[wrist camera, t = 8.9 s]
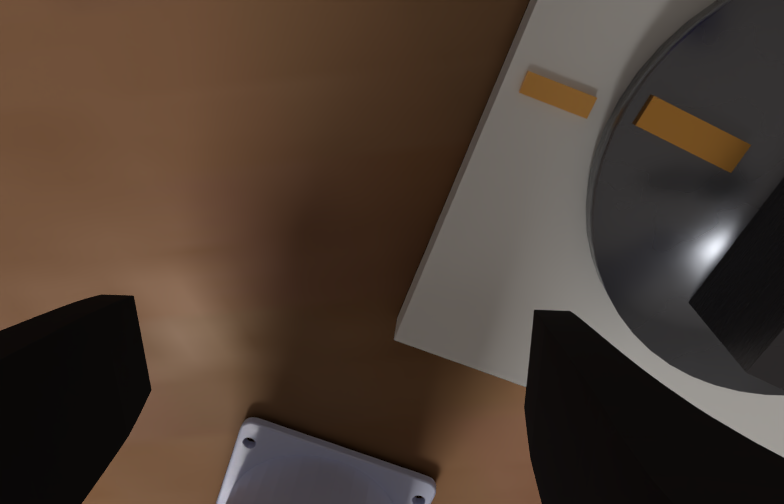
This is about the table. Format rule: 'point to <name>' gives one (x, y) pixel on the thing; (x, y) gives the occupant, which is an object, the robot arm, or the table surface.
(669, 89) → the dial
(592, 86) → the dial panel
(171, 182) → the table surface
